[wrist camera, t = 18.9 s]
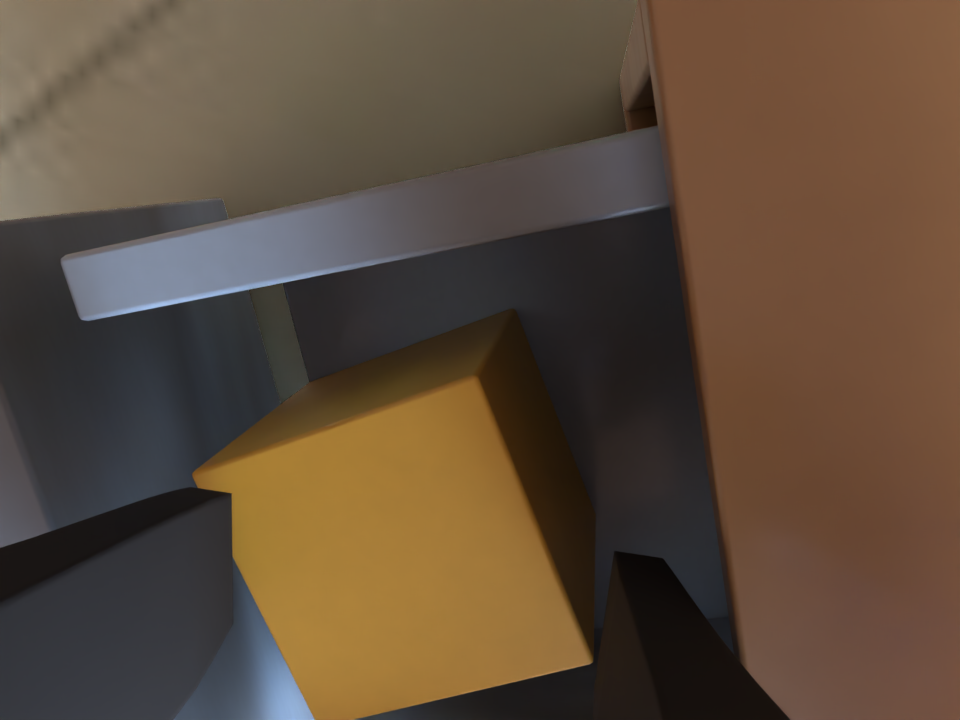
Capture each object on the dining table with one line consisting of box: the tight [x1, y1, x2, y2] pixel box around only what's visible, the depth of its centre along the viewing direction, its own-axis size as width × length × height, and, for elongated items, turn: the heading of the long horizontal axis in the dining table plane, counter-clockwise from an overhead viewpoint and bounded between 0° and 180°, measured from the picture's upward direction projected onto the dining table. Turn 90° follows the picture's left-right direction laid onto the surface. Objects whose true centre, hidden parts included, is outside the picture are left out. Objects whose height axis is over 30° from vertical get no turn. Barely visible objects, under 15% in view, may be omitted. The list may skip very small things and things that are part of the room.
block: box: [192, 309, 596, 720], centre depth 12 cm, size 4×4×4 cm
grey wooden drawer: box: [0, 125, 734, 720], centre depth 12 cm, size 16×11×7 cm
